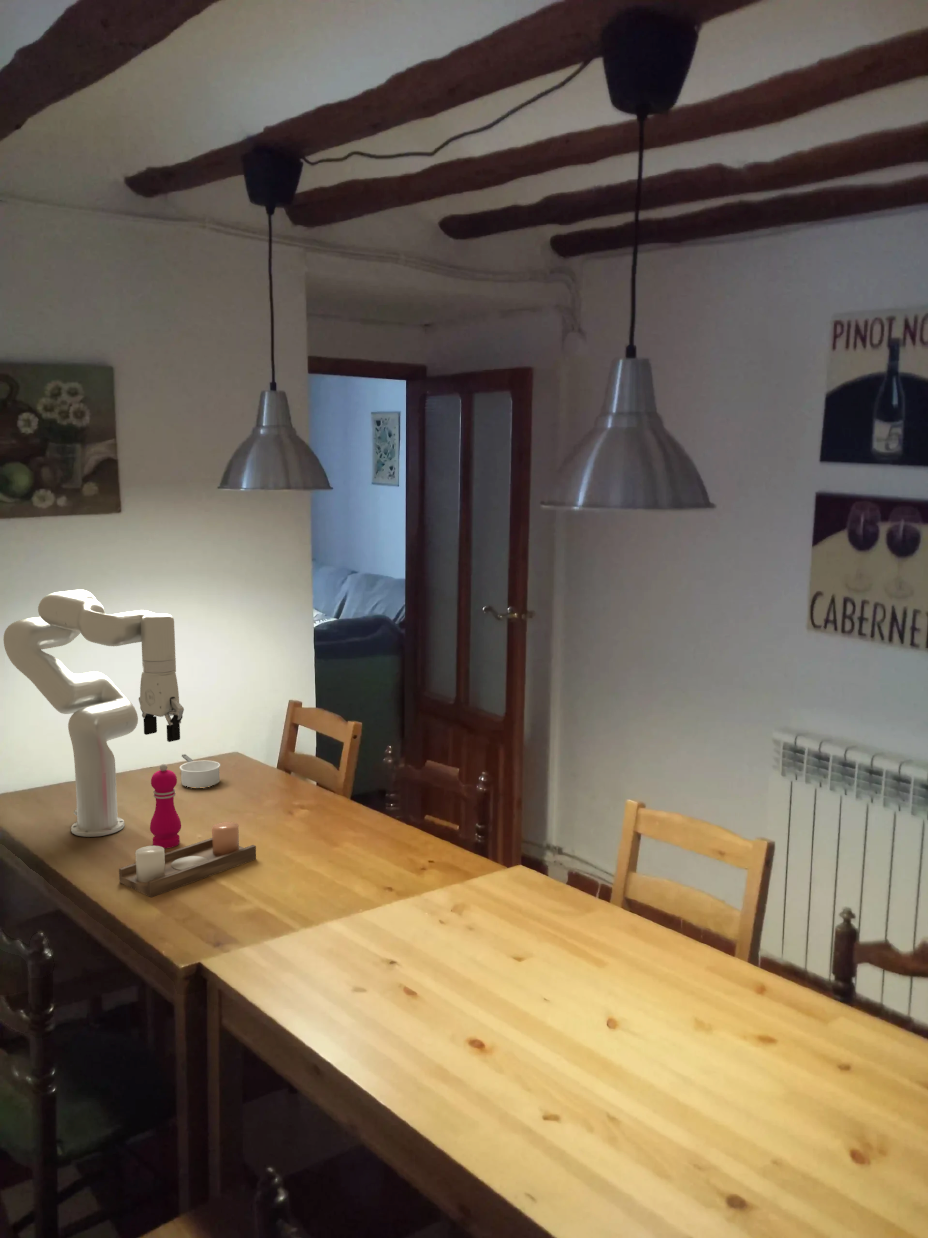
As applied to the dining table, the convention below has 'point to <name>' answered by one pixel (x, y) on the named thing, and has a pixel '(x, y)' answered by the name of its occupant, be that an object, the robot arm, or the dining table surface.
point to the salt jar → (150, 863)
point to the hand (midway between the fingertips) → (162, 737)
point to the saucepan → (199, 773)
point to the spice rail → (187, 867)
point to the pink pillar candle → (225, 838)
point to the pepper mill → (165, 809)
